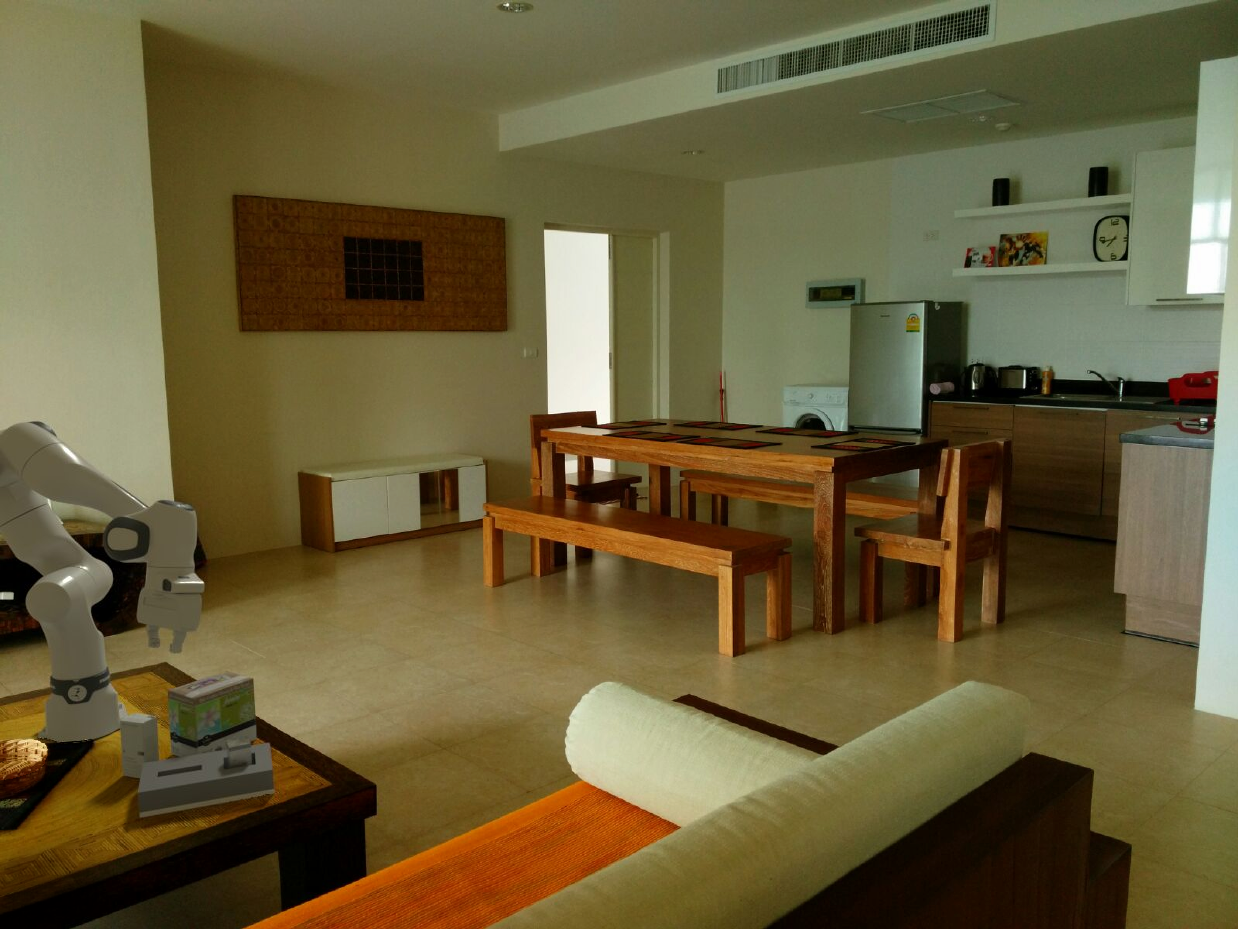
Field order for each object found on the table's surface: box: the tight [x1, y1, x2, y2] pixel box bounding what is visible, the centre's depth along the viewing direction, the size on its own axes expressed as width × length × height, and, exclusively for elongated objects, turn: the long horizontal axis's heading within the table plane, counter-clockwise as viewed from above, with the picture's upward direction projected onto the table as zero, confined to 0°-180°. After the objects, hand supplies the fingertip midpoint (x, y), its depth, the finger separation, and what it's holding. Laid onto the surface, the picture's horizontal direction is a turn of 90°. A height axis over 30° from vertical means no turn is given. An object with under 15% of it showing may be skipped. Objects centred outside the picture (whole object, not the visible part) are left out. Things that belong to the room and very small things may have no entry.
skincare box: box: [120, 712, 160, 779], centre depth 203 cm, size 6×4×12 cm
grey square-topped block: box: [226, 736, 252, 769], centre depth 198 cm, size 4×4×8 cm
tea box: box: [167, 670, 257, 757], centre depth 216 cm, size 15×10×15 cm, turn 148°
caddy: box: [137, 742, 275, 819], centre depth 196 cm, size 14×24×5 cm, turn 112°
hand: (164, 650), depth 197 cm, fingers open, 8 cm apart
